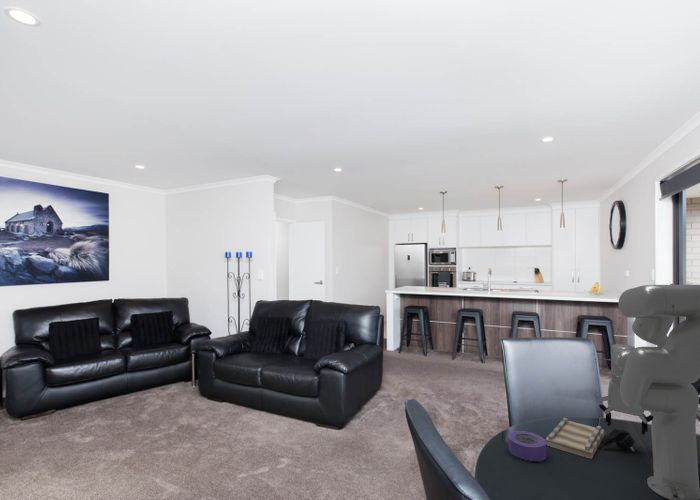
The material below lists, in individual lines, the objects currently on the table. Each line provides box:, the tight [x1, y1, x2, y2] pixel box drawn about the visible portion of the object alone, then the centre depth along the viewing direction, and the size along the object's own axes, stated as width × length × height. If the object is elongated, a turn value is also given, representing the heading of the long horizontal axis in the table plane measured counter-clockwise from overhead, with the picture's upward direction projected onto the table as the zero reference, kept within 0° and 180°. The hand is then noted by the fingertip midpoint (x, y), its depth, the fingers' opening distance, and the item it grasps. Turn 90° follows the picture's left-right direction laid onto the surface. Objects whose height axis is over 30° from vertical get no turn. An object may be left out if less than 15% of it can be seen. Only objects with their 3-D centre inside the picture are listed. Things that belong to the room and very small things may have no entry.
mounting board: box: [544, 417, 606, 460], centre depth 133 cm, size 24×14×3 cm, turn 136°
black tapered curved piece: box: [597, 428, 635, 452], centre depth 126 cm, size 6×8×12 cm
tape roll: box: [507, 430, 547, 462], centre depth 124 cm, size 12×12×5 cm
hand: (626, 428), depth 127 cm, fingers open, 9 cm apart
